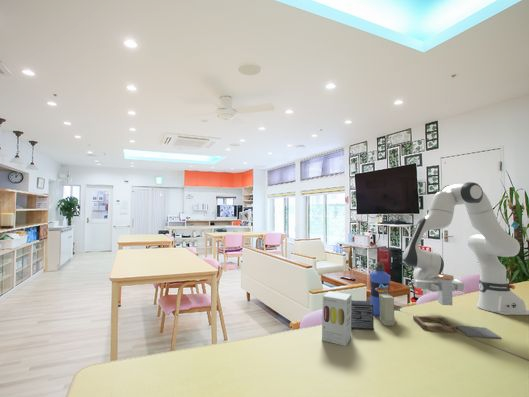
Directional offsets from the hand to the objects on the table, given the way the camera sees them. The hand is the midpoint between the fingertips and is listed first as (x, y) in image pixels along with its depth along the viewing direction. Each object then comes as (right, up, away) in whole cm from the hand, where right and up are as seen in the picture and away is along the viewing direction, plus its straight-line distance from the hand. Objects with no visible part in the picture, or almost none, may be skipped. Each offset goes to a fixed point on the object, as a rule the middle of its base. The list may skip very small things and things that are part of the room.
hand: (446, 289), depth 127 cm
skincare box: (-24, -17, +4) cm, 30 cm away
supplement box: (-51, -15, -14) cm, 55 cm away
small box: (-38, -16, -1) cm, 41 cm away
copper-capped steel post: (0, -7, +1) cm, 7 cm away
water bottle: (-23, -17, +15) cm, 32 cm away
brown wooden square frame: (-4, -17, +2) cm, 17 cm away
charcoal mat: (+10, -17, -5) cm, 20 cm away
